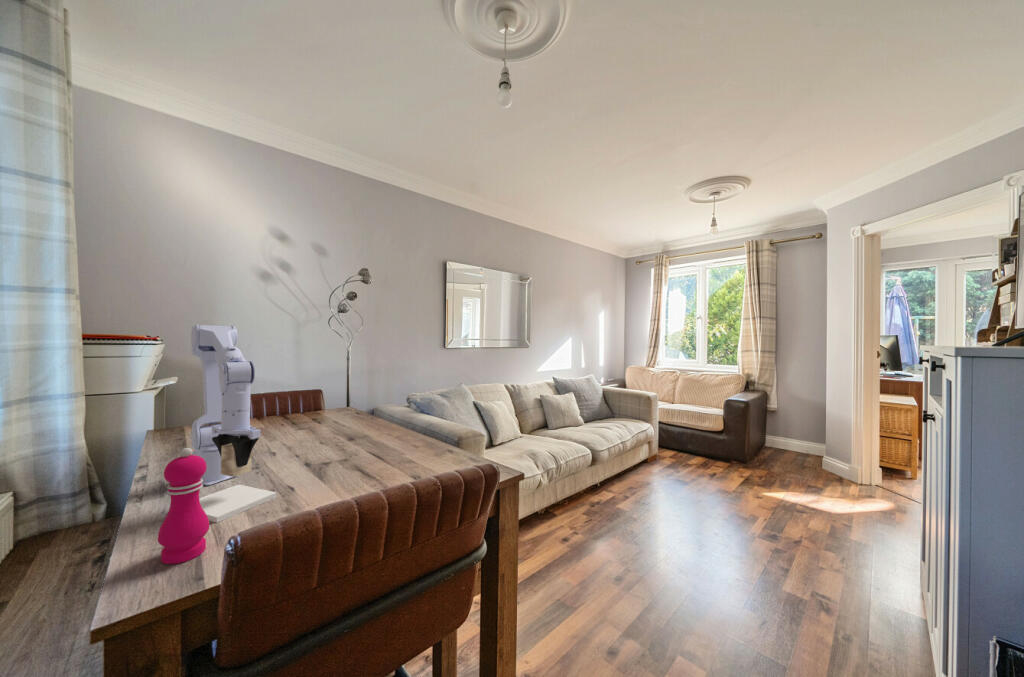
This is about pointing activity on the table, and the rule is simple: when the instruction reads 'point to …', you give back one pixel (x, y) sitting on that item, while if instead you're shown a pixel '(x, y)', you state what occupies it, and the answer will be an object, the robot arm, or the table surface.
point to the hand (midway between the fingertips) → (235, 464)
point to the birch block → (232, 462)
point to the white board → (233, 501)
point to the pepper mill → (184, 510)
